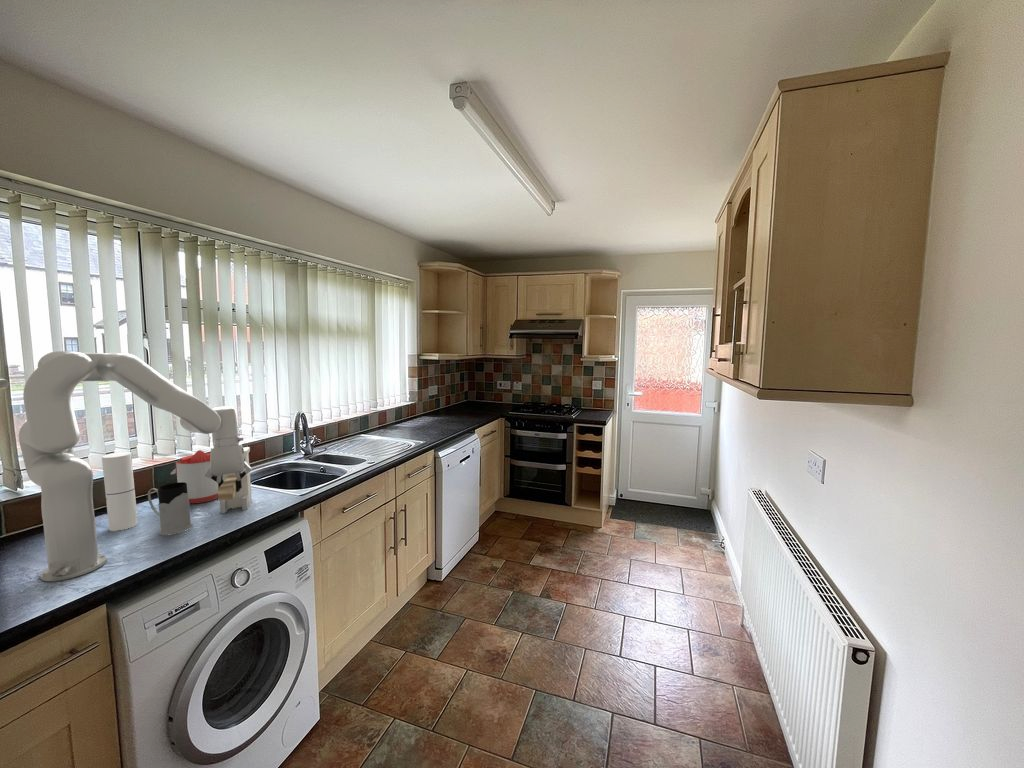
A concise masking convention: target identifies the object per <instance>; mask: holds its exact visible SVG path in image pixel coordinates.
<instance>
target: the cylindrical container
mask: <svg viewBox="0 0 1024 768" xmlns="http://www.w3.org/2000/svg"><path fill="white" fill-rule="evenodd" d="M132 461H133V460H132V452H129V451H128V452H127V451H122V452H114V453H108V454H105V455H102V456H101V463H102V464H101V465H102V470H103V471H102V472H103V480H104V492H105V499H106V501H105V502H106V511H107V519H108V530H109V531H110V532H120V531H119V530H121V531H124V529H125V530H128V528H129V529H132V528H134V527H136V526H138V513H137V512H138V511H137V501H136V500H137V499H136V490H135V489H136V488H135V481H134V480H135V479H134V471H133V462H132ZM131 527H132V528H131ZM117 530H118V531H117Z"/></svg>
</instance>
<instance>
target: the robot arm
mask: <svg viewBox="0 0 1024 768" xmlns="http://www.w3.org/2000/svg"><path fill="white" fill-rule="evenodd" d="M111 381H112V382H113V381H114V382H116V383H118V384H119V385H121V386H122V387H123V388H125V389H127V390H128V391H130V392H132V393H133V395H136V396H137V397H138V398H140V399H141V400H142V401H144V402H146V403H147V404H148V405H151V406H153V407H155V408H157V409H160V410H163V411H165V412H168V413H171V414H172V415H174V416H177V417H179V418H180V419H179V423H180V426H181V427H182V428H183V429H184V430H186V431H188V432H193V433H199V434H204V435H210V434H211V437H212V446H211V447H210V452H209V453H210V468H209V470H208V471H207V473H206V474H205V476H206V477H208V478H211V479H213V480H214V481H216V482H217V483H218V488H219V487H220V486H221V485H222V483H223V482H224V481H223V479H222V478H223V474H230V473H235V475H236V478H237V479H236V491H237V492H239V490H240V488H242V483H241V479H242V478H243V477H244V476H245V475H246V474H247V473H249V472H251V471H252V470H253V468H252V467H251V466H250V464H249V465H248V464H247V463H246V460H245V454H244V449H243V447H244V446H243V443H242V441H244V436H239V429H238V421H237V419H238V418H237V410H236V409H235V407H233V406H227V405H226V406H218V407H214V408H211V407H210V406H209V405H207V404H206V403H205V402H203V401H202V400H200V399H199V398H197V397H196V396H194V395H192V394H191V393H189V392H187V391H185V390H184V389H183V388H181V387H179V386H178V385H176V384H174V383H173V382H171V380H169V379H168V378H166V377H165V376H163V374H160V373H159V372H158V371H157V370H155V369H154V368H153V367H151V366H150V365H148V363H146V362H144V360H142V359H140V358H139V357H138V356H136V355H134V354H131V353H126V352H108V353H107V352H105V353H104V352H81V351H74V350H62V351H60V350H59V351H53V352H49V353H47V354H44V355H43V356H41V358H40V359H39V360H38V362H37V368H36V369H35V370H34V371H33V372H32V373H31V374H30V376H29V377H28V378H27V380H26V382H25V385H24V388H23V404H24V409H25V410H24V411H25V416H26V417H25V418H26V421H25V422H24V423H23V424H22V426H21V427H20V429H19V431H18V442H19V446H20V450H21V451H20V452H21V455H22V459H23V463H24V467H25V470H26V474H27V476H28V478H29V479H30V481H31V482H32V483H34V484H35V485H37V486H39V487H40V490H41V492H40V493H41V501H40V504H41V505H40V507H41V517H42V523H43V534H44V541H45V542H44V543H45V551H46V560H47V566H48V567H47V568H45V569H43V571H42V572H40V575H39V577H40V580H42V581H45V582H57V581H64V580H69V579H72V578H76V577H80V576H82V575H87V574H88V573H89V574H90V573H91V572H93V571H95V570H97V569H99V568H101V567H103V566H104V565H105V564H106V563H107V562H108V557H107V555H106V554H102V553H99V548H98V537H97V528H96V527H97V526H96V519H95V518H96V517H95V508H94V501H93V500H94V498H93V486H94V485H93V484H94V474H93V473H94V472H93V470H92V468H91V465H90V464H89V463H88V462H86V460H84V459H82V458H80V457H77V456H75V454H74V450H73V448H74V447H75V446H77V444H78V442H79V440H80V437H81V433H80V429H79V426H78V421H77V417H76V413H75V408H74V402H73V393H74V390H75V388H76V387H77V386H78V384H80V383H81V382H111ZM244 468H245V469H246V470H245V471H243V470H244ZM242 471H243V472H242ZM241 472H242V473H241ZM216 475H217V476H216Z"/></svg>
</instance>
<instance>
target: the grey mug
mask: <svg viewBox="0 0 1024 768" xmlns="http://www.w3.org/2000/svg"><path fill="white" fill-rule="evenodd" d="M152 490H154V491H155V492H156V494H157V498H158V503H157V504H158V510H157V509H156V507H155V505H154V504H153V501H152V497H151V493H152ZM147 499H148V502H149V506H150V508H151V509H152V511H153V512H154V513H155V514H156V515H157V516H158V517H159V523H160V527H159V528H160V529H159V533H160V534H162V535H161V536H169V535H168V534H174V535H176V534H175V533H178V534H180V533H179V532H182V531H184V532H186V531H185V530H187V529H189V528H191V527H192V526H193V523H192V521H191V511H190V504H189V496H188V492H187V483H185V482H171V483H166V484H163V485H160V486H159V487H158V488H155V487H153V488H151V489H149V490H148V491H147ZM193 527H194V526H193ZM193 527H192V528H193ZM192 528H191V529H192ZM189 530H190V529H189ZM187 531H188V530H187ZM182 533H183V532H182ZM160 534H159V535H160Z"/></svg>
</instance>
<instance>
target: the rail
mask: <svg viewBox="0 0 1024 768" xmlns="http://www.w3.org/2000/svg"><path fill="white" fill-rule="evenodd" d="M236 479H237V478H236V475H232V476H228V477H227V478H226V479H225V481H224V482H223V483H222V485H221V486H220V487H219V489H218V498H217V499H218V502H220V501H223V500H230V499H233V498H234V496H235V495H236V493H237V491H236Z"/></svg>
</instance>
